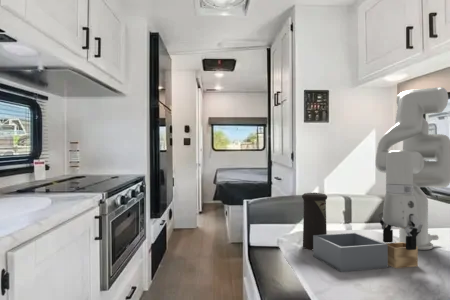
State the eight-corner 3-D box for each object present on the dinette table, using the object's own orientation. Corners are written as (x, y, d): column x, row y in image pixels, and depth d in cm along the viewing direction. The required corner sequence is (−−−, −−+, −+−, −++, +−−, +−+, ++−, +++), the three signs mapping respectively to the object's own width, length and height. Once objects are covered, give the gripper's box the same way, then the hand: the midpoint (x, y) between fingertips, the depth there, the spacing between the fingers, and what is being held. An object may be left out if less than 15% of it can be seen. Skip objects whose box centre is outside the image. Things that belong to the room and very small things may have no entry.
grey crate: (355, 253, 121) (355, 232, 121) (387, 267, 105) (387, 244, 106) (313, 256, 117) (313, 235, 117) (340, 272, 101) (340, 247, 101)
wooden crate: (403, 260, 113) (403, 242, 113) (417, 266, 107) (417, 246, 107) (381, 262, 111) (381, 243, 111) (395, 268, 105) (395, 248, 105)
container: (328, 251, 123) (328, 194, 123) (302, 249, 125) (302, 193, 125) (326, 245, 131) (326, 191, 132) (301, 243, 133) (301, 191, 133)
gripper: (431, 192, 102) (431, 252, 101) (389, 188, 118) (389, 239, 118) (410, 192, 100) (410, 253, 99) (370, 188, 116) (370, 240, 116)
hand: (398, 245), depth 108 cm, fingers open, 9 cm apart
